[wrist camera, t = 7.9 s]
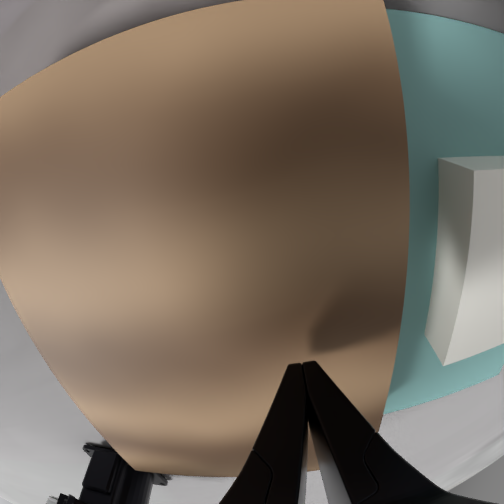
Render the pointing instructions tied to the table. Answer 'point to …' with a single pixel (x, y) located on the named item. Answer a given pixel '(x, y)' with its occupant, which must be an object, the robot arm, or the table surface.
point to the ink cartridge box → (51, 500)
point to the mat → (427, 181)
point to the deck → (211, 221)
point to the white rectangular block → (468, 259)
